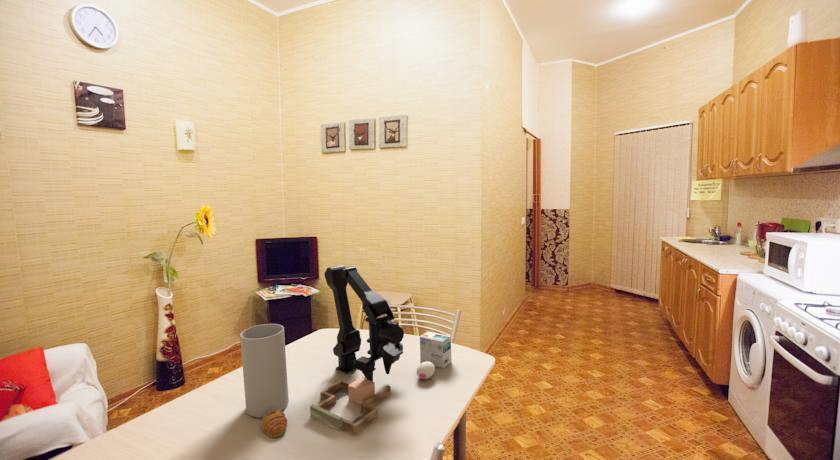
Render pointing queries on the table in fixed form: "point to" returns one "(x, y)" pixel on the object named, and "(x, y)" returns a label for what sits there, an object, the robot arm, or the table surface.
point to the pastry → (274, 423)
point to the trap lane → (338, 422)
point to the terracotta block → (361, 390)
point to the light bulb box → (435, 349)
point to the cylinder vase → (264, 369)
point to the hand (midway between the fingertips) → (379, 379)
